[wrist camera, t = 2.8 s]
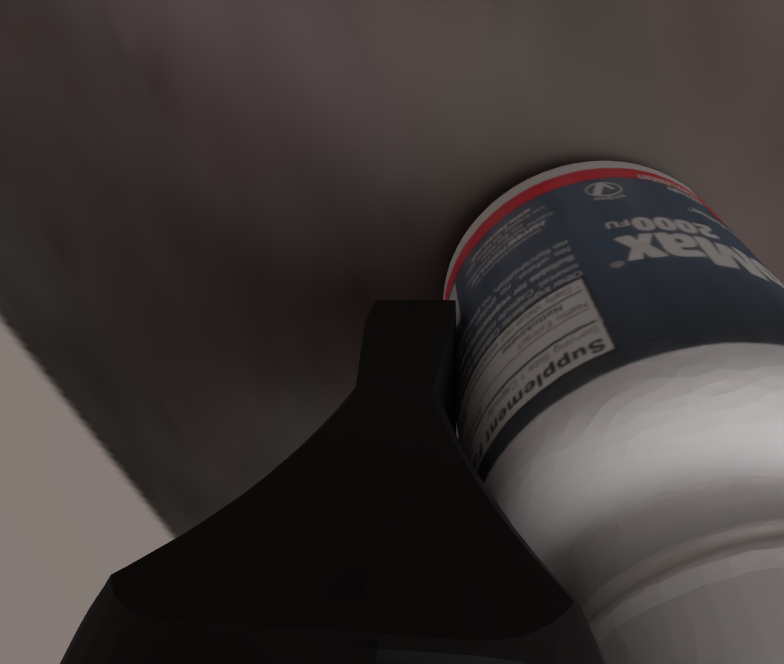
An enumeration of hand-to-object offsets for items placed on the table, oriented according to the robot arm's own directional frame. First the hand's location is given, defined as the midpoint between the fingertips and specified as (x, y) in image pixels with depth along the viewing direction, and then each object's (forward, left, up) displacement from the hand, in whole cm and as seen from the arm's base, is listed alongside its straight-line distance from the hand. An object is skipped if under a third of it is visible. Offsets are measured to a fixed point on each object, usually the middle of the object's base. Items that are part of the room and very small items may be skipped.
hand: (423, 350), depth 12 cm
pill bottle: (0, -3, -3) cm, 4 cm away
